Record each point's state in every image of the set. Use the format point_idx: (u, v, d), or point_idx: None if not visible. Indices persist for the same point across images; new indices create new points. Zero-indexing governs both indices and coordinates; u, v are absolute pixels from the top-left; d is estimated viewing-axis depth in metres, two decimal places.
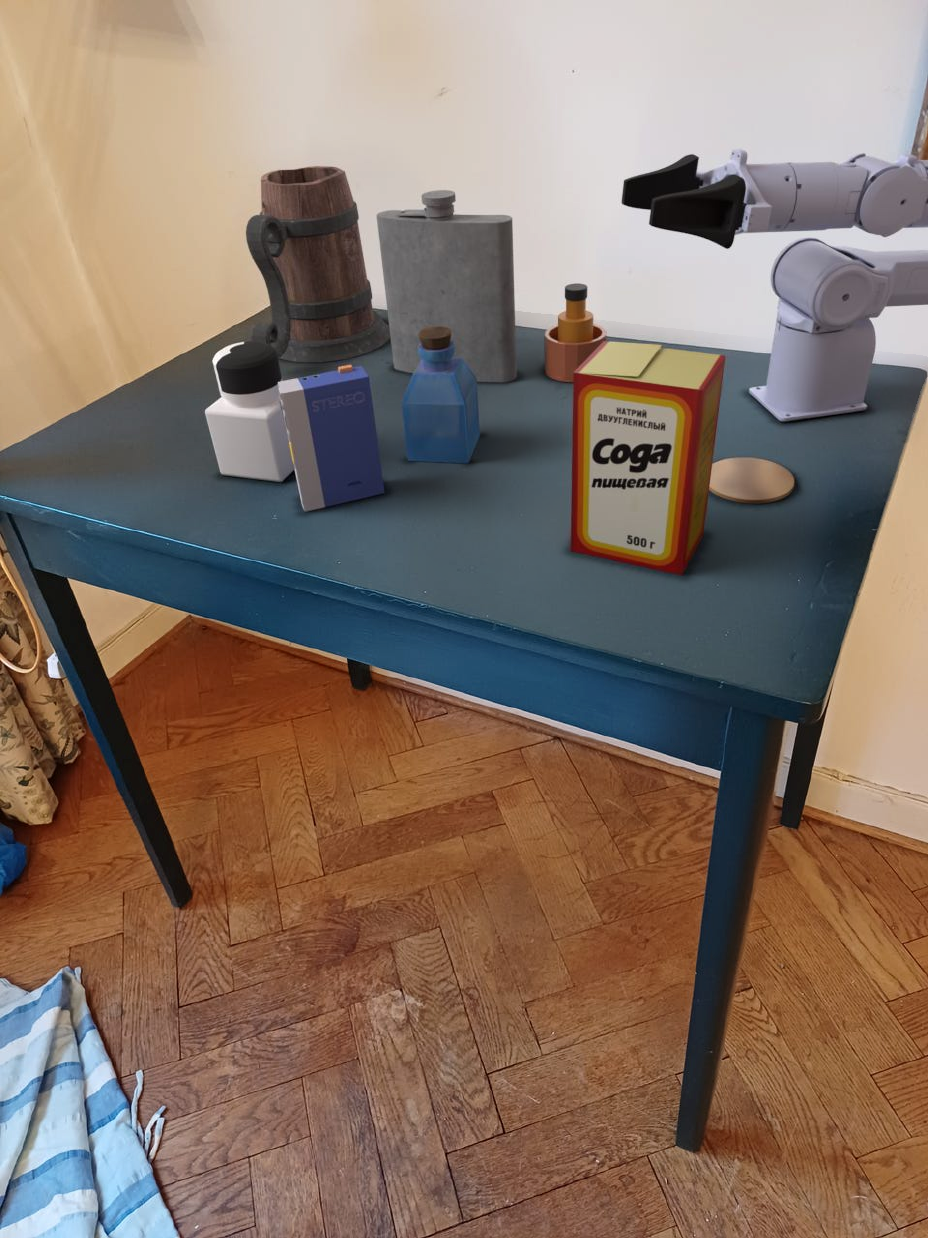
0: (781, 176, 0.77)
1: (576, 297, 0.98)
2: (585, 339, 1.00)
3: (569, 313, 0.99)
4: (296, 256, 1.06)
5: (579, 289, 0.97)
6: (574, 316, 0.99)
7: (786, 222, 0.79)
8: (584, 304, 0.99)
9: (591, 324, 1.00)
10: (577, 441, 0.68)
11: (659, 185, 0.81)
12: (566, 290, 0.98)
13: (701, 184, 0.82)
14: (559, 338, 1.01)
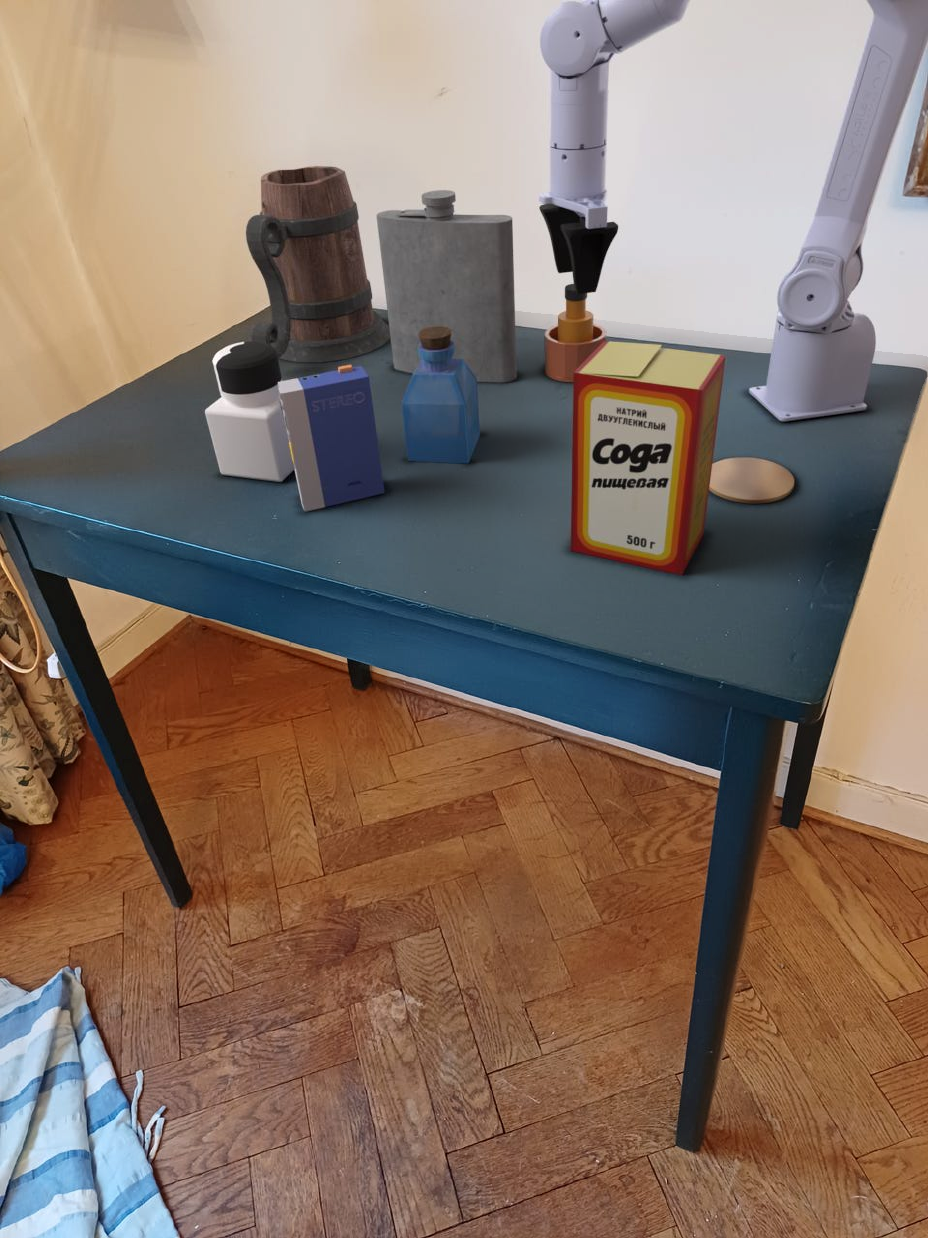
0: (562, 163, 0.89)
1: (576, 297, 0.98)
2: (585, 339, 1.00)
3: (569, 313, 0.99)
4: (296, 256, 1.06)
5: None
6: (574, 316, 0.99)
7: (600, 148, 0.88)
8: (584, 304, 0.99)
9: (591, 324, 1.00)
10: (577, 441, 0.68)
11: (563, 241, 0.99)
12: (566, 290, 0.98)
13: None
14: (559, 338, 1.01)
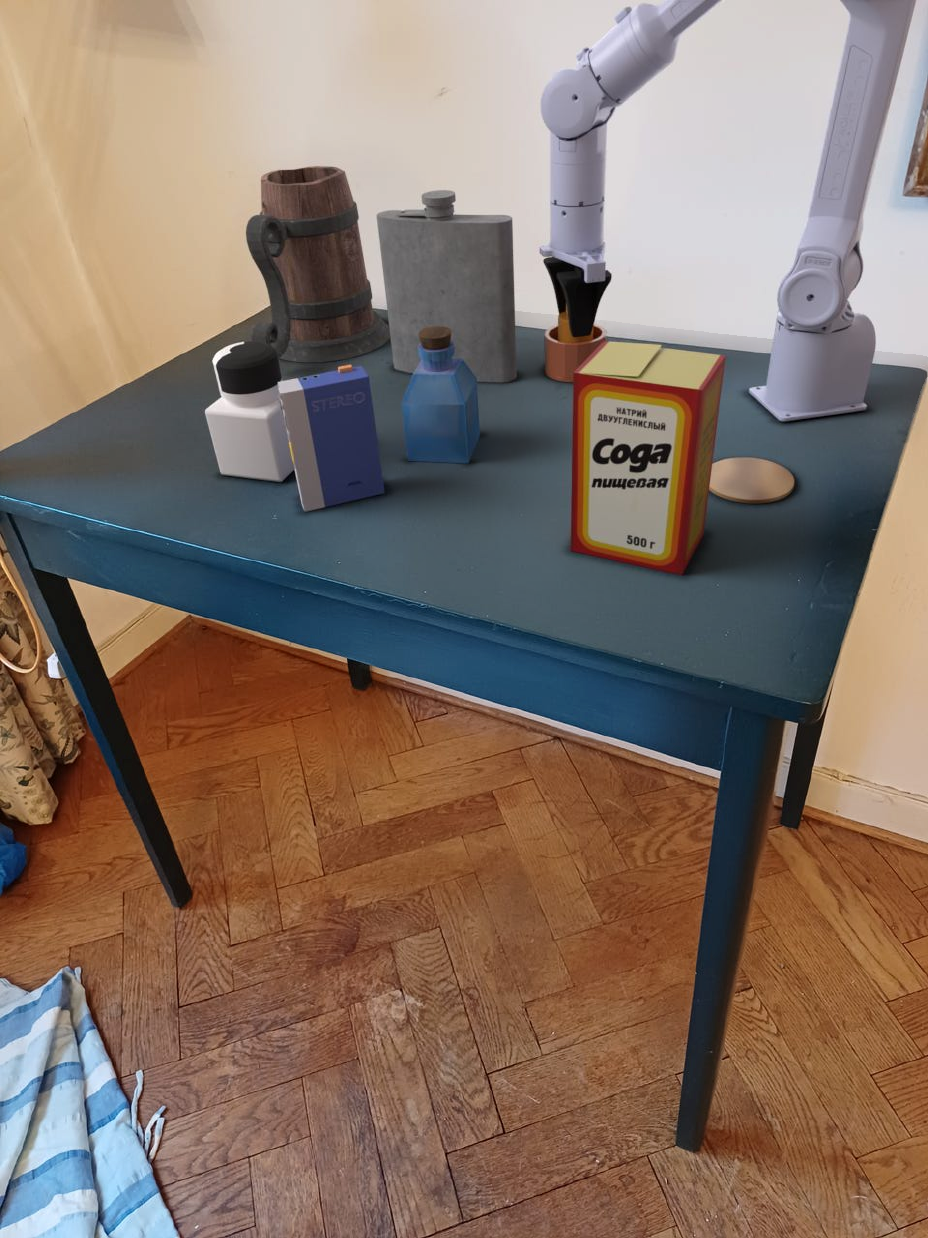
0: (562, 219, 0.92)
1: None
2: (585, 339, 1.00)
3: None
4: (296, 256, 1.06)
5: None
6: None
7: (598, 205, 0.91)
8: None
9: None
10: (577, 441, 0.68)
11: None
12: None
13: None
14: (559, 338, 1.01)
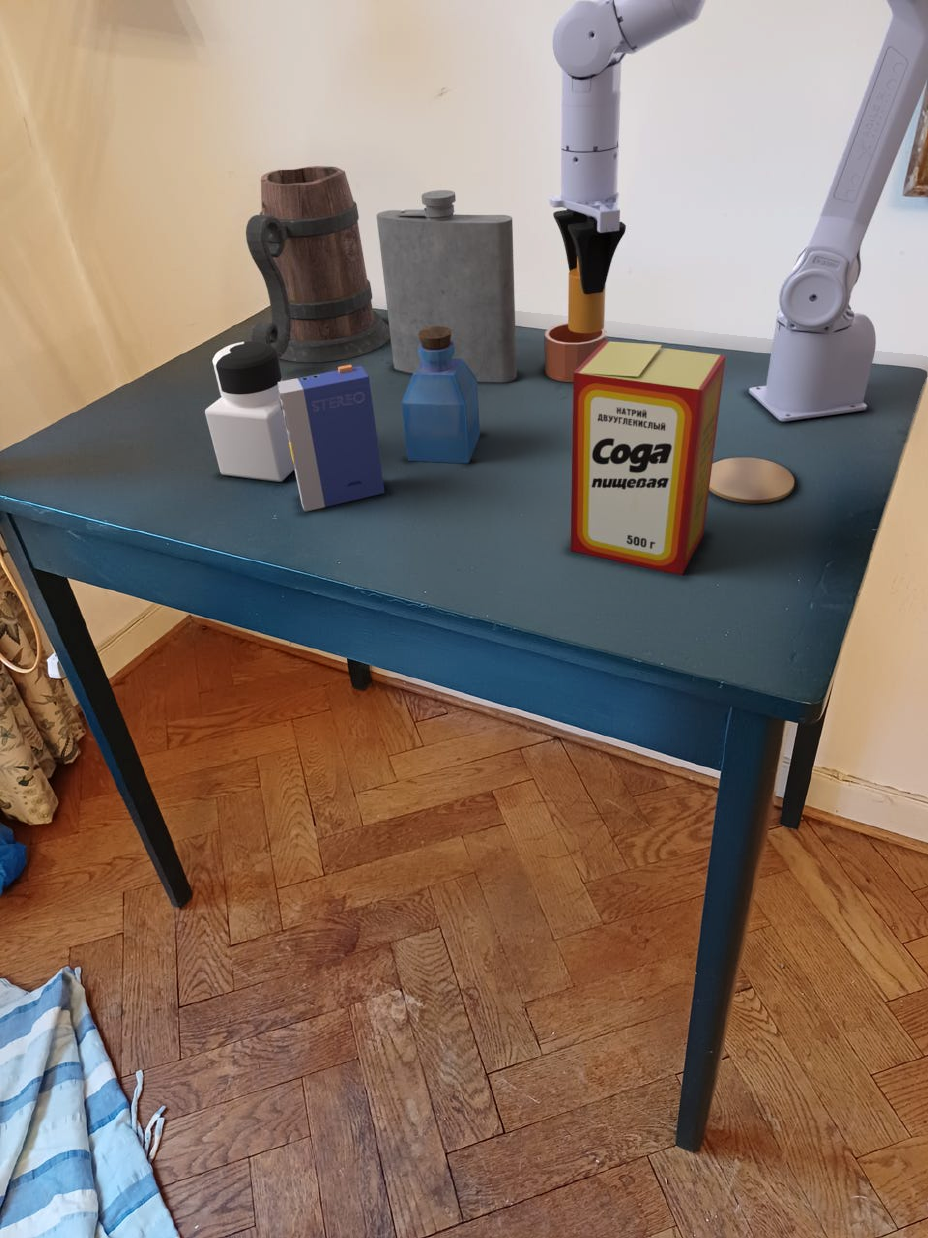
0: (574, 166, 0.87)
1: None
2: (597, 297, 0.95)
3: None
4: (296, 256, 1.06)
5: None
6: None
7: (612, 150, 0.86)
8: None
9: None
10: (577, 441, 0.68)
11: None
12: None
13: None
14: (570, 296, 0.96)
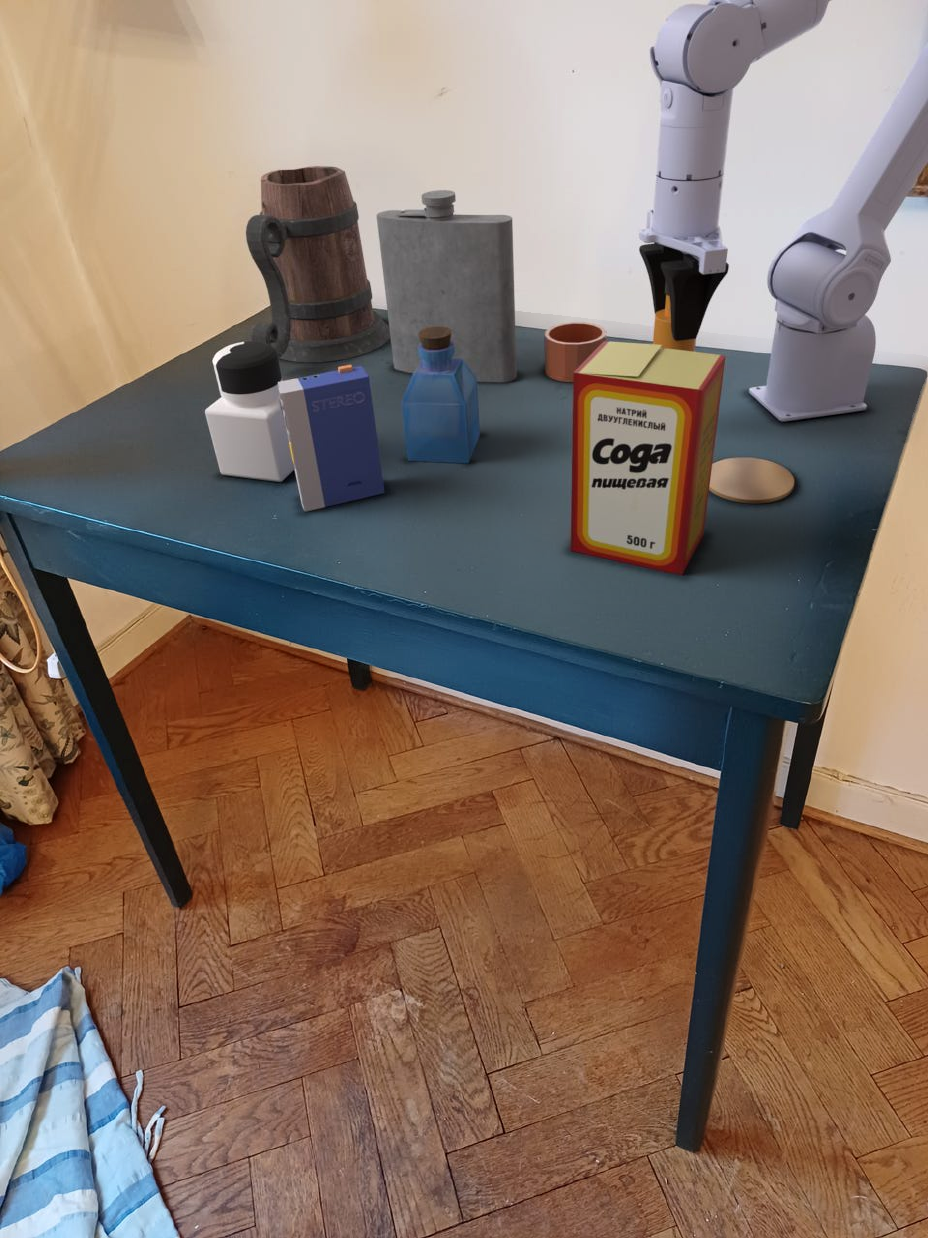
0: (672, 196, 0.75)
1: None
2: (688, 343, 0.83)
3: (670, 312, 0.82)
4: (296, 256, 1.06)
5: None
6: None
7: (717, 179, 0.74)
8: None
9: None
10: (577, 441, 0.68)
11: None
12: None
13: None
14: (655, 342, 0.84)
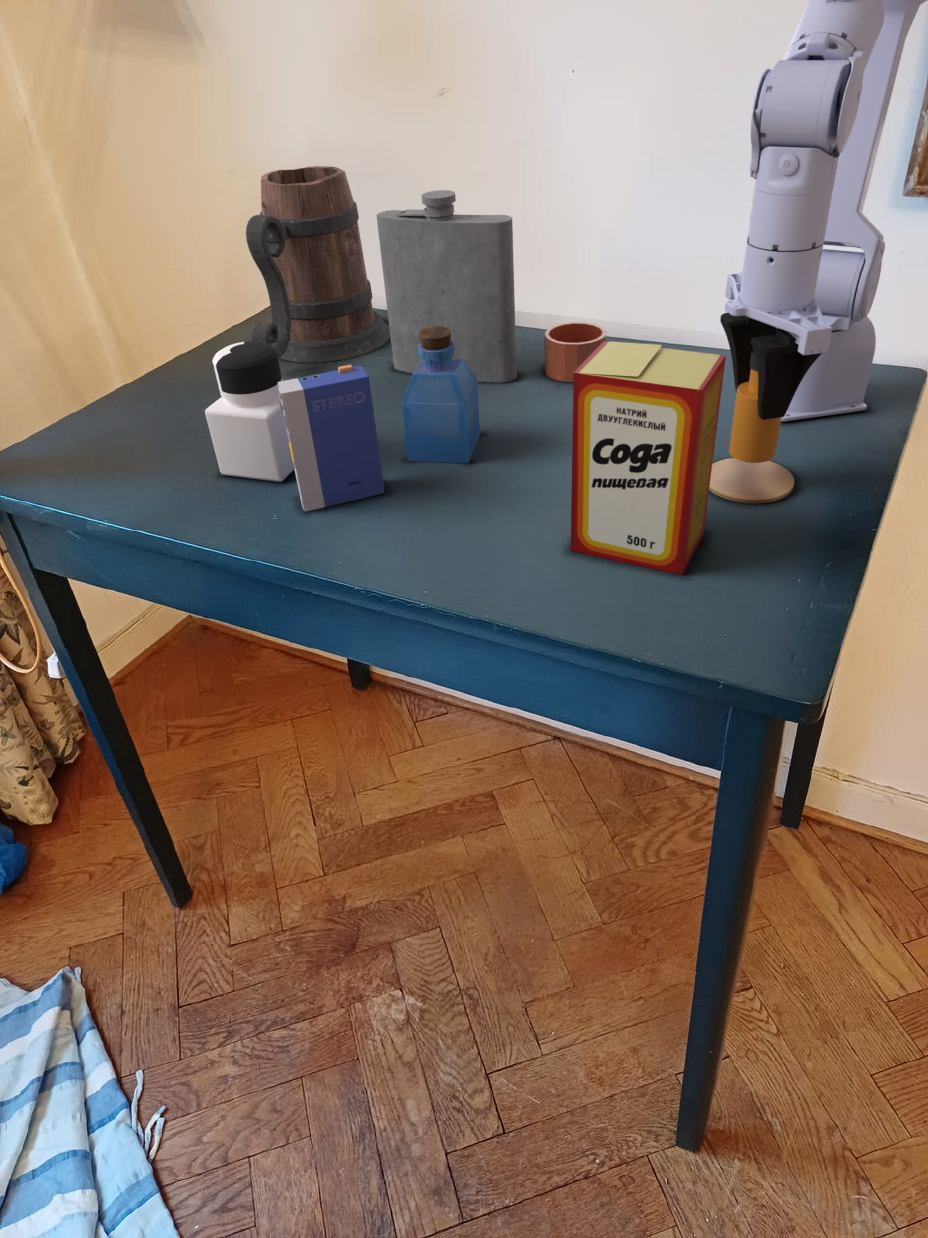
0: (767, 268, 0.68)
1: None
2: (774, 421, 0.76)
3: (755, 388, 0.75)
4: (296, 256, 1.06)
5: None
6: None
7: (818, 249, 0.67)
8: None
9: None
10: (577, 441, 0.68)
11: (748, 360, 0.76)
12: (754, 358, 0.74)
13: None
14: (737, 418, 0.77)
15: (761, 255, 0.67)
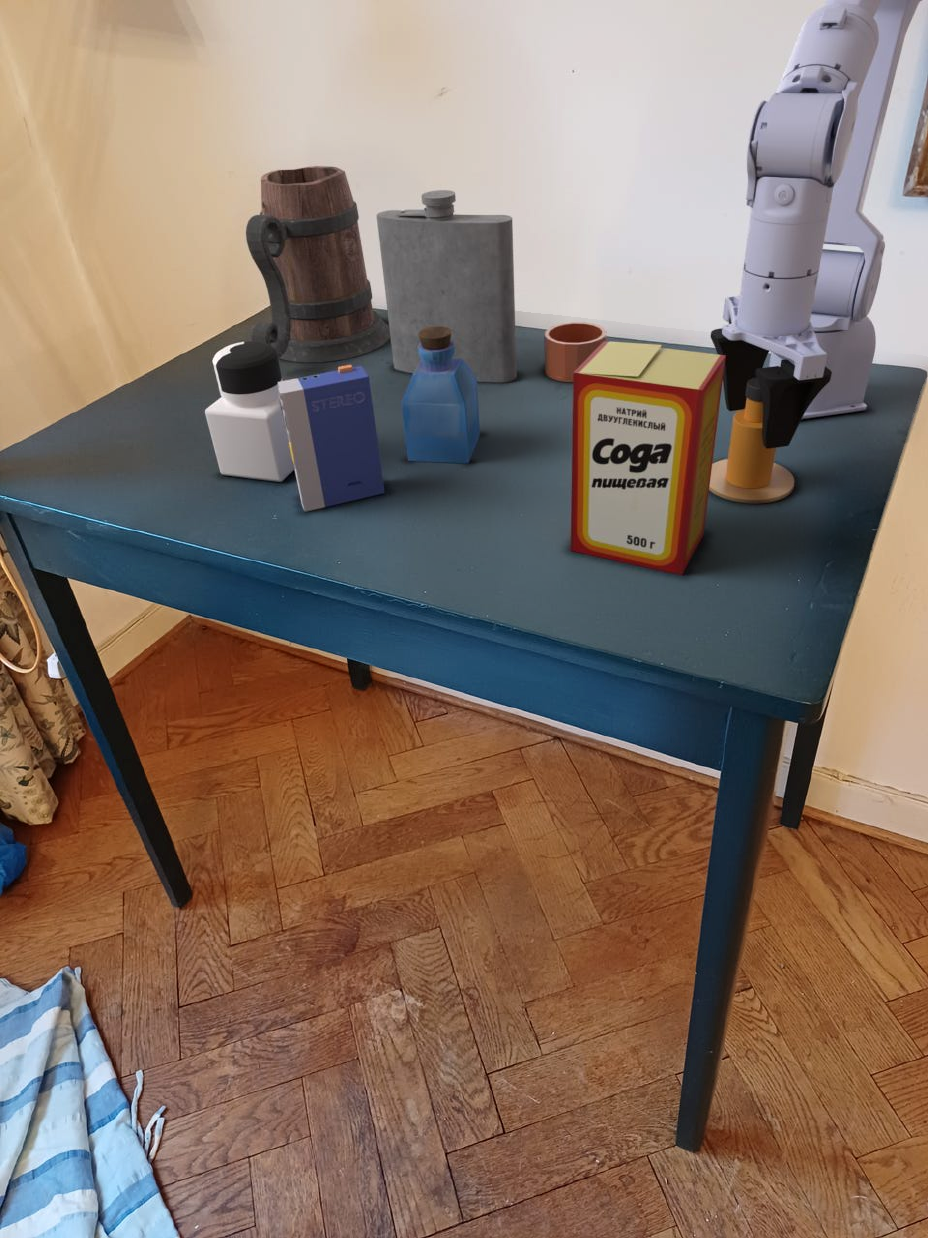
0: (763, 294, 0.69)
1: None
2: None
3: (751, 416, 0.77)
4: (296, 256, 1.06)
5: None
6: (757, 420, 0.76)
7: (813, 276, 0.68)
8: None
9: None
10: (577, 441, 0.68)
11: (738, 375, 0.79)
12: (750, 388, 0.75)
13: None
14: (733, 446, 0.78)
15: (757, 282, 0.69)
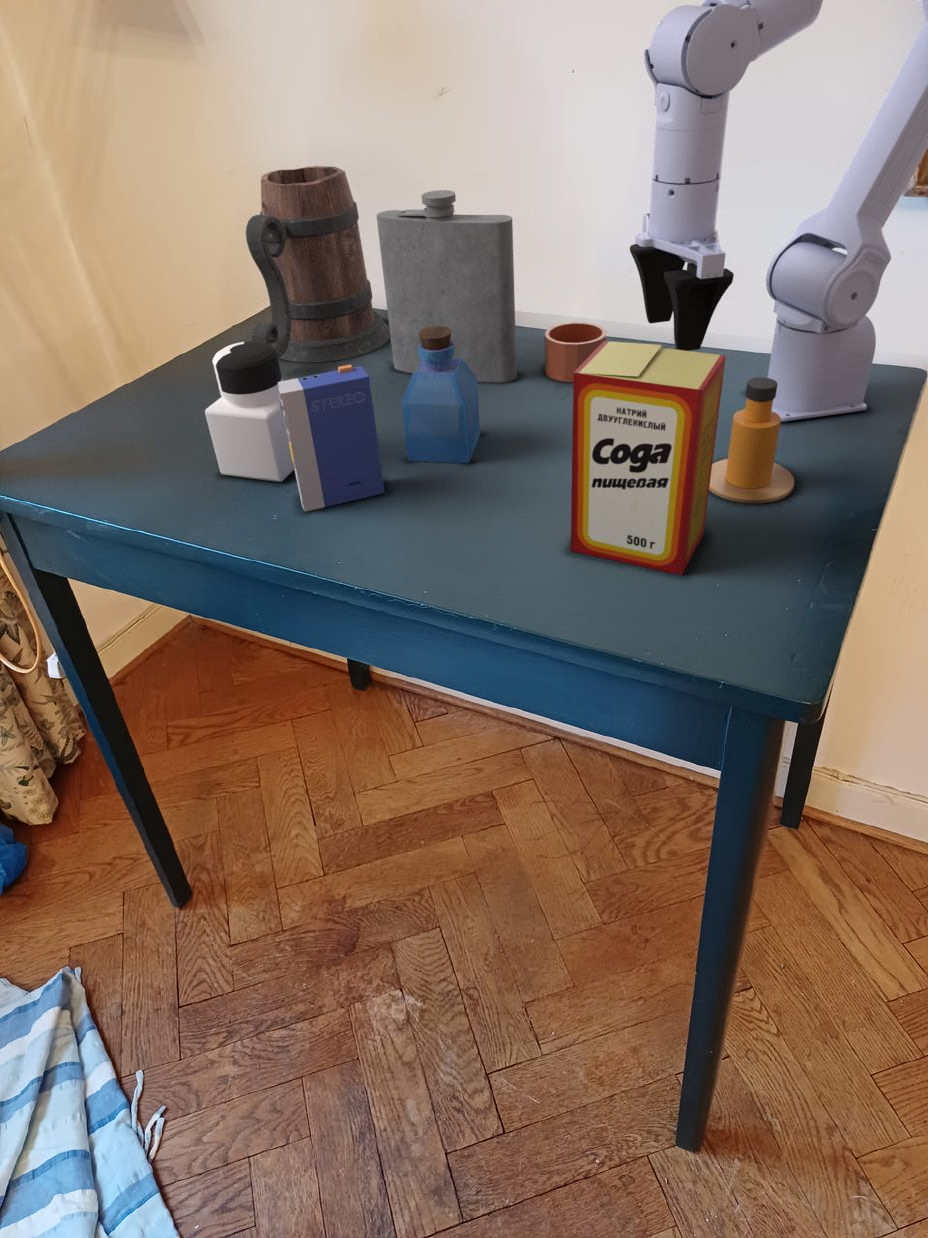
0: (669, 200, 0.74)
1: (764, 397, 0.75)
2: (770, 448, 0.77)
3: (751, 416, 0.77)
4: (296, 256, 1.06)
5: (769, 387, 0.75)
6: (757, 420, 0.76)
7: (714, 182, 0.73)
8: (771, 405, 0.76)
9: (778, 429, 0.77)
10: (577, 441, 0.68)
11: (656, 287, 0.84)
12: (750, 388, 0.75)
13: None
14: (733, 446, 0.78)
15: (663, 188, 0.74)
